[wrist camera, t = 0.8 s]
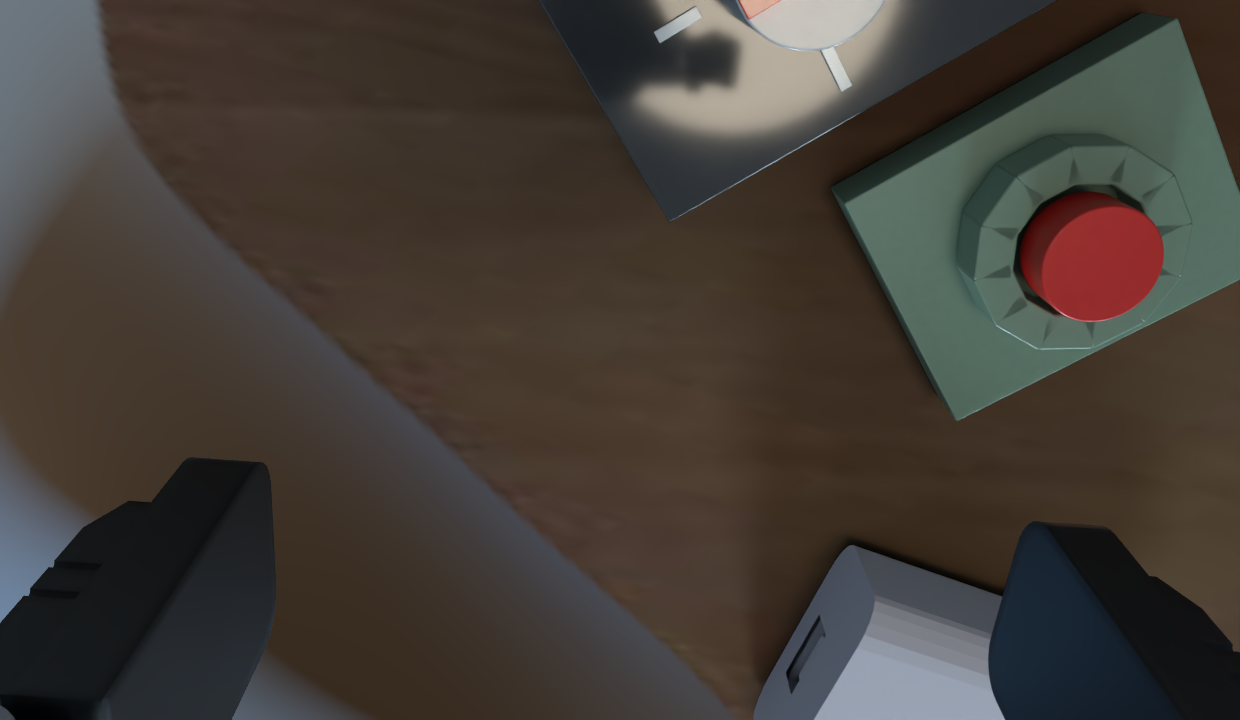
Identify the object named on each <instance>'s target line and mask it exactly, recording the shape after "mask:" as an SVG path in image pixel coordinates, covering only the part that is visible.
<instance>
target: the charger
mask: <svg viewBox="0 0 1240 720" xmlns="http://www.w3.org/2000/svg"><path fill="white" fill-rule="evenodd" d="M1001 600H1002V596H999V595H996V594H993V593H990V592H987V591H985V590H982V589H979V588H976V587H973V586H970V585H967V584H964V583H961V582H959V581H956V580H953V579H950V578H947V577H944V576H941V575H938V574H935V573H932V572H930V571H927V570H924V569H921V568H918V567H915V566H912V565H909V564H906V563H904V562H901V561H898V560H895V559H892V558H889V557H886V556H883V555H880V554H878V553H875V552H872V551H869V550H866V549H863V548H860V547H857V546H854V545H850V546H848V547H847V548H846V549H845V550H843V551H842V553H841V554H840V555H839V556H838V558H837V559H836V561H835V562H834V564H833V565H832V567H831V569H830V570H829V572H828V574H827V575H826V577H825V579H824V581H823V582H822V584H821V586H820V588H819V590H818V591H817V593H816V595H815V597H814V598H813V600H812V602H811V604H810V605H809V607H808V609H807V611H806V612H805V614H804V616H803V618H802V619H801V621H800V623H799V625H798V626H797V628H796V630H795V632H794V633H793V635H792V637H791V639H790V640H789V642H788V644H787V646H786V647H785V649H784V651H783V653H782V654H781V656H780V658H779V660H778V662H777V663H776V665H775V667H774V669H773V670H772V672H771V674H770V676H769V677H768V679H767V681H766V683H765V685H764V687H763V689H762V691H761V694H760V696H759V699H758V702H757V705H756V708H755V712H754V717H753V720H1005V718H1004V716H1003V714H1002V712H1001V710H1000V708H999V706H998V704H997V702H996V700H995V698H994V695H993V692H992V688H991V684H990V678H989V668H988V653H989V644H990V639H991V635H992V631H993V628H994V624H995V621H996V617H997V614H998V610H999V607H1000V603H1001Z"/></svg>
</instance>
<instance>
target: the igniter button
mask: <svg viewBox="0 0 1240 720" xmlns="http://www.w3.org/2000/svg"><path fill="white" fill-rule="evenodd" d="M1163 260H1164V247H1163V241H1162V238H1161V234H1160V232H1159V230H1158V228H1157V227H1156V225H1155V224H1154V222H1153V221H1152V220H1151V219H1150V218H1149V217H1148V216H1146V215H1145V214H1144V213H1142V212H1140V211H1138V210H1137V209H1135V208H1133V207H1131V206H1129V205H1127V204H1125V203H1123V202H1121V201H1120V200H1118V199H1116V198H1114V197H1112V196H1110V195H1107V194H1104V193H1099V192H1089V191H1088V192H1078V193H1074V194H1070V195H1067V196H1064V197H1062V198H1060V199H1058V200H1056V201H1054V202H1053V203H1051V204H1050V205H1048V206H1047V207H1046V208H1044V209H1043V210H1042V211H1041V212H1040V213H1039V214H1038V215H1037V216H1036V217H1035V219H1034V220H1033V221H1032V223H1031V224H1030V226H1029V227H1028V229H1027V231H1026V233H1025V235H1024V238H1023V241H1022V245H1021V249H1020V266H1021V270H1022V273H1023V276H1024V278H1025V280H1026V282H1027V284H1028V285H1029V286H1030V288H1031V289H1032V290H1033V291H1034V292H1035V293H1037V294H1038V295H1039V296H1040V297H1041V298H1042V299H1044V300H1045V301H1046V302H1047V303H1048V304H1050V305H1051V306H1052V307H1053V308H1054V309H1055V310H1057V311H1058V312H1059V313H1061V314H1062V315H1064V316H1066V317H1068V318H1071V319H1074V320H1078V321H1083V322H1098V321H1104V320H1109V319H1112V318H1115V317H1118V316H1120V315H1122V314H1124V313H1126V312H1128V311H1129V310H1131V309H1132V308H1134V307H1135V306H1136V305H1138V304H1139V303H1140V302H1141V301H1142V300H1143V299H1144V298H1145V297H1146V296H1147V295H1148V294H1149V292H1150V291H1151V290H1152V288H1153V287H1154V285H1155V283H1156V282H1157V280H1158V277H1159V275H1160V273H1161V269H1162V266H1163Z"/></svg>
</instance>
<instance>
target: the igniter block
mask: <svg viewBox="0 0 1240 720" xmlns="http://www.w3.org/2000/svg"><path fill="white" fill-rule="evenodd" d="M831 190H832V192H833V194H834V196H835V198H836V200H837V202H838V204H839V206H840V208H841V210H842V211H843V213H844V215H845V217H846V219H847V221H848V223H849V225H850V227H851V229H852V231H853V233H854V235H855V237H856V239H857V240H858V242H859V244H860V246H861V248H862V250H863V252H864V254H865V256H866V258H867V260H868V262H869V264H870V266H871V268H872V270H873V271H874V273H875V275H876V277H877V279H878V281H879V283H880V285H881V287H882V289H883V291H884V293H885V295H886V297H887V299H888V300H889V302H890V304H891V306H892V308H893V310H894V312H895V314H896V316H897V318H898V320H899V322H900V324H901V326H902V328H903V329H904V331H905V333H906V335H907V337H908V339H909V341H910V343H911V345H912V347H913V349H914V351H915V353H916V355H917V357H918V359H919V360H920V362H921V364H922V366H923V368H924V370H925V372H926V374H927V376H928V378H929V380H930V382H931V384H932V386H933V388H934V389H935V391H936V393H937V395H938V397H939V398H940V399H941V401H942V402H943V404H944V405H945V406H946V408H947V409H948V411H949V412H950V413H951V415H952V416H953V417H954V419H955V420H956V421H958V420H960V419H962V418H964V417H966V416H968V415H970V414H972V413H974V412H976V411H978V410H980V409H982V408H984V407H986V406H988V405H990V404H992V403H994V402H996V401H998V400H1000V399H1002V398H1004V397H1006V396H1008V395H1010V394H1012V393H1014V392H1016V391H1018V390H1020V389H1022V388H1024V387H1026V386H1028V385H1030V384H1032V383H1034V382H1036V381H1038V380H1040V379H1042V378H1044V377H1046V376H1048V375H1050V374H1052V373H1054V372H1056V371H1058V370H1060V369H1062V368H1064V367H1066V366H1068V365H1070V364H1072V363H1074V362H1076V361H1078V360H1080V359H1082V358H1084V357H1086V356H1088V355H1090V354H1092V353H1094V352H1096V351H1098V350H1100V349H1102V348H1104V347H1106V346H1108V345H1110V344H1112V343H1114V342H1116V341H1118V340H1120V339H1122V338H1124V337H1126V336H1128V335H1130V334H1132V333H1134V332H1136V331H1138V330H1140V329H1142V328H1144V327H1146V326H1148V325H1150V324H1152V323H1154V322H1156V321H1158V320H1159V319H1161V318H1163V317H1165V316H1167V315H1169V314H1171V313H1173V312H1175V311H1177V310H1179V309H1181V308H1183V307H1185V306H1187V305H1189V304H1191V303H1193V302H1195V301H1197V300H1199V299H1201V298H1203V297H1205V296H1207V295H1209V294H1211V293H1213V292H1215V291H1217V290H1219V289H1221V288H1223V287H1225V286H1227V285H1229V284H1231V283H1233V282H1235V281H1237V280H1239V279H1240V192H1239V190H1238V187H1237V184H1236V181H1235V178H1234V176H1233V173H1232V170H1231V167H1230V164H1229V162H1228V159H1227V156H1226V153H1225V150H1224V147H1223V145H1222V142H1221V139H1220V136H1219V133H1218V131H1217V128H1216V125H1215V122H1214V119H1213V117H1212V114H1211V111H1210V108H1209V105H1208V102H1207V100H1206V97H1205V94H1204V91H1203V88H1202V86H1201V83H1200V80H1199V77H1198V74H1197V72H1196V69H1195V66H1194V63H1193V60H1192V57H1191V55H1190V52H1189V49H1188V46H1187V43H1186V41H1185V38H1184V35H1183V32H1182V29H1181V27H1180V24H1179V21H1178V19H1177V18H1172V17H1166V16H1160V15H1153V14H1147V13H1141V14H1139V15H1137V16H1135V17H1133V18H1132V19H1130V20H1128V21H1126V22H1125V23H1123V24H1121V25H1119V26H1117V27H1116V28H1114V29H1112V30H1110V31H1109V32H1107V33H1105V34H1103V35H1101V36H1100V37H1098V38H1096V39H1094V40H1092V41H1091V42H1089V43H1087V44H1085V45H1084V46H1082V47H1080V48H1078V49H1076V50H1075V51H1073V52H1071V53H1069V54H1068V55H1066V56H1064V57H1062V58H1060V59H1059V60H1057V61H1055V62H1053V63H1052V64H1050V65H1048V66H1046V67H1044V68H1043V69H1041V70H1039V71H1037V72H1036V73H1034V74H1032V75H1030V76H1028V77H1027V78H1025V79H1023V80H1021V81H1019V82H1018V83H1016V84H1014V85H1012V86H1011V87H1009V88H1007V89H1005V90H1003V91H1002V92H1000V93H998V94H996V95H995V96H993V97H991V98H989V99H987V100H986V101H984V102H982V103H980V104H979V105H977V106H975V107H973V108H971V109H970V110H968V111H966V112H964V113H963V114H961V115H959V116H957V117H955V118H954V119H952V120H950V121H948V122H946V123H945V124H943V125H941V126H939V127H938V128H936V129H934V130H932V131H930V132H929V133H927V134H925V135H923V136H922V137H920V138H918V139H916V140H914V141H913V142H911V143H909V144H907V145H906V146H904V147H902V148H900V149H898V150H897V151H895V152H893V153H891V154H890V155H888V156H886V157H884V158H882V159H881V160H879V161H877V162H875V163H873V164H872V165H870V166H868V167H866V168H865V169H863V170H861V171H859V172H857V173H856V174H854V175H852V176H850V177H849V178H847V179H845V180H843V181H841V182H840V183H838V184H836V185H834V186H833V187H831ZM1088 191H1089V192H1099V193H1104V194H1107V195H1110V196H1112V197H1114V198H1116V199H1118V200H1120V201H1121V202H1123V203H1125V204H1127V205H1129V206H1131V207H1133V208H1135V209H1137V210H1138V211H1140V212H1142V213H1144V214H1145V215H1146V216H1148V217H1149V218H1150V219H1151V220H1152V221H1153V222H1154V224H1155V225H1156V227H1157V228H1158V230H1159V232H1160V234H1161V238H1162V241H1163V247H1164V260H1163V266H1162V269H1161V273H1160V275H1159V277H1158V280H1157V282H1156V283H1155V285H1154V287H1153V288H1152V290H1151V291H1150V292H1149V294H1148V295H1147V296H1146V297H1145V298H1144V299H1143V300H1142V301H1141V302H1140V303H1139V304H1138V305H1136V306H1135V307H1134V308H1132V309H1131V310H1129V311H1128V312H1126V313H1124V314H1122V315H1120V316H1118V317H1115V318H1112V319H1109V320H1104V321H1098V322H1083V321H1078V320H1074V319H1071V318H1068V317H1066V316H1064V315H1062V314H1061V313H1059V312H1058V311H1057V310H1055V309H1054V308H1053V307H1052V306H1051V305H1050V304H1048V303H1047V302H1046V301H1045V300H1044V299H1042V298H1041V297H1040V296H1039V295H1038V294H1037V293H1035V292H1034V291H1033V290H1032V289H1031V288H1030V286H1029V285H1028V284H1027V282H1026V280H1025V278H1024V276H1023V273H1022V270H1021V266H1020V249H1021V245H1022V241H1023V238H1024V235H1025V233H1026V231H1027V229H1028V227H1029V226H1030V224H1031V223H1032V221H1033V220H1034V219H1035V217H1036V216H1037V215H1038V214H1039V213H1040V212H1041V211H1042V210H1043V209H1044V208H1046V207H1047V206H1048V205H1050V204H1051V203H1053V202H1054V201H1056V200H1058V199H1060V198H1062V197H1064V196H1067V195H1070V194H1074V193H1078V192H1088Z"/></svg>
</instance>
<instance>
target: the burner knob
mask: <svg viewBox="0 0 1240 720" xmlns="http://www.w3.org/2000/svg"><path fill="white" fill-rule="evenodd" d="M722 1H723V3H724V4H725V6H726V7H727V8H728V10H729V11H730V12H731V13H732V14H733V15H734V16H735V17H736V18H737V19H738V20H739V21H741V22H742V23H744V24H745V25H746V26H748V27H749V28H751V29H752V30H754V31H755V32H757V33H758V34H759V35H761V36H762V37H764V38H765V39H767V40H768V41H770V42H772V43H774V44H776V45H778V46H781V47H784V48H787V49H791V50H796V51H819V50H823V49H828V48H831V47H834V46H837V45H839V44H841V43H843V42H845V41H847V40H849V39H851V38H852V37H854V36H855V35H857V34H858V33H859V32H860V31H861V30H863V29H864V28H865V27H866V26H867V25H868V24H869V23H870V22H871V21H872V20H873V18H874V17H875V16H876V14H877V13H878V12H879V10H880V9H881V7H882V5H883V4H884V2H885V0H722Z"/></svg>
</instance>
